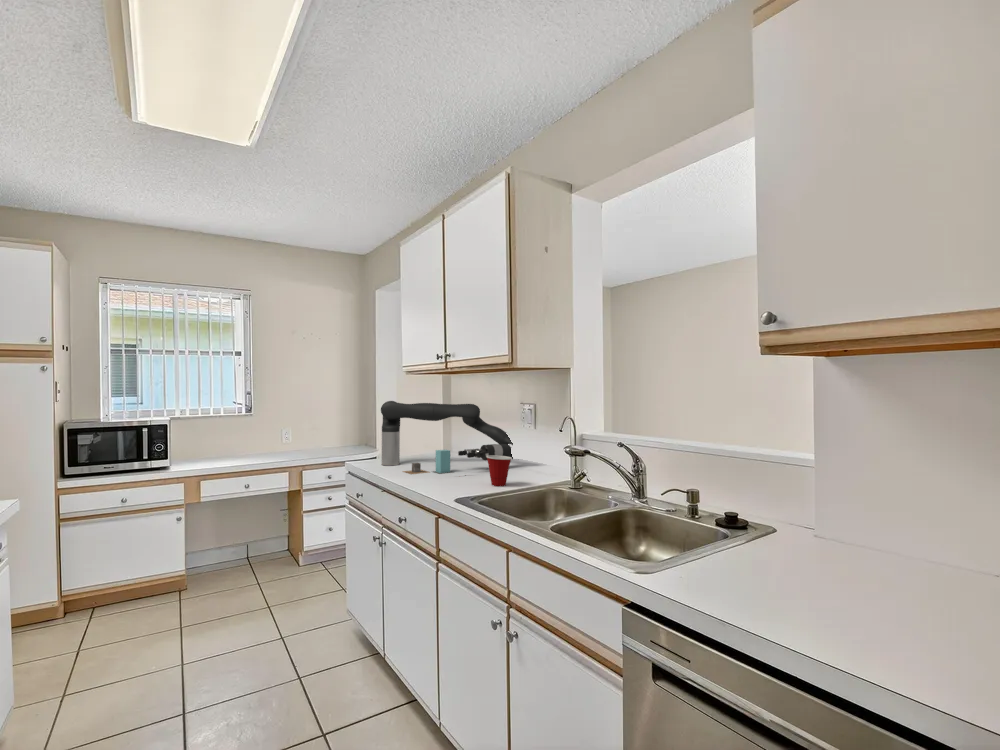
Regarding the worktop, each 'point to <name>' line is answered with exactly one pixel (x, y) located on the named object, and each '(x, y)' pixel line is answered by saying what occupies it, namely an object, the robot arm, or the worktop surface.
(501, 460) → the plastic cup
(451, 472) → the coaster mat
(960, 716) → the worktop surface
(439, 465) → the teal block
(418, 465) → the walnut base
